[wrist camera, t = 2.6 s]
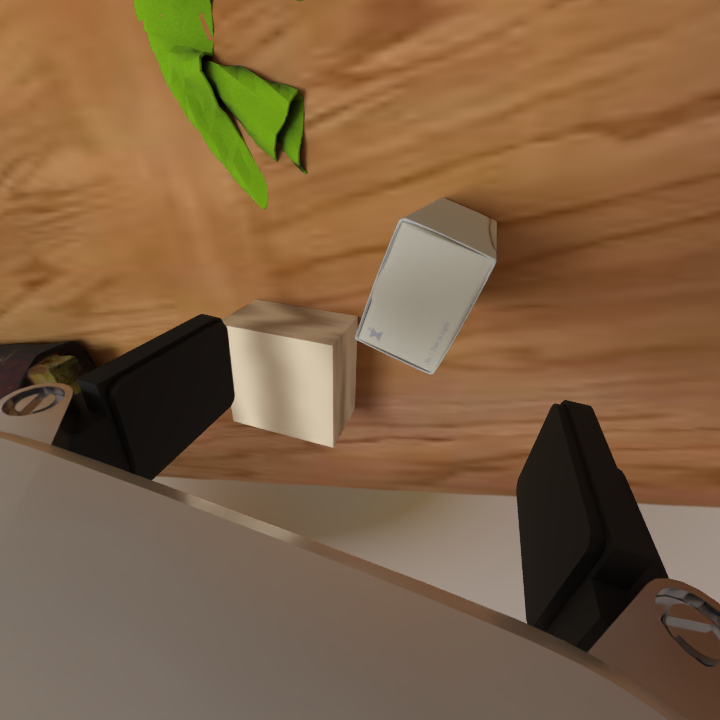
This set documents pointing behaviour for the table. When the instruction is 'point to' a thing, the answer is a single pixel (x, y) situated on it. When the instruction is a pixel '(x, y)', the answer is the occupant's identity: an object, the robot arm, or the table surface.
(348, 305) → the table surface
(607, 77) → the table surface
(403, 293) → the skincare box
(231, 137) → the cloth
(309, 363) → the maple block
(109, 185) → the table surface
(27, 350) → the packaged item
